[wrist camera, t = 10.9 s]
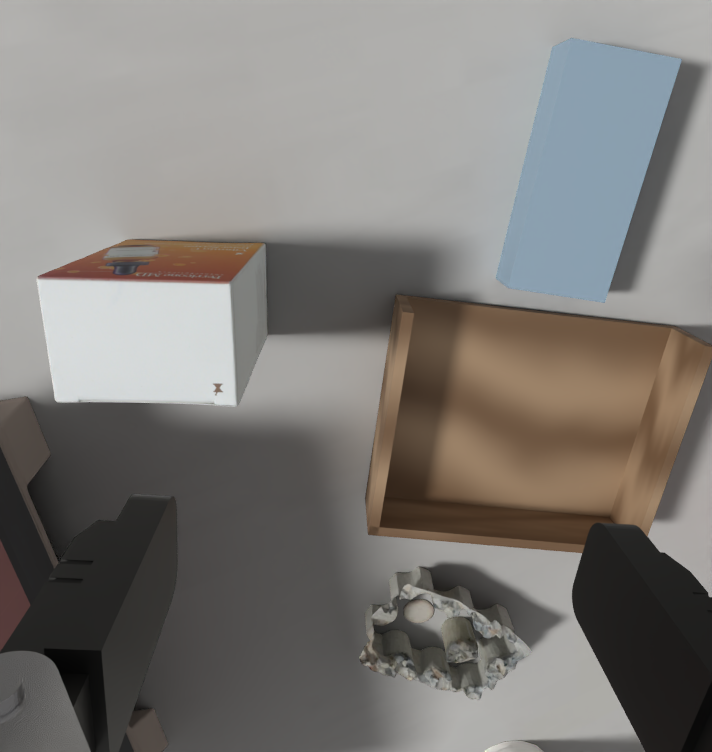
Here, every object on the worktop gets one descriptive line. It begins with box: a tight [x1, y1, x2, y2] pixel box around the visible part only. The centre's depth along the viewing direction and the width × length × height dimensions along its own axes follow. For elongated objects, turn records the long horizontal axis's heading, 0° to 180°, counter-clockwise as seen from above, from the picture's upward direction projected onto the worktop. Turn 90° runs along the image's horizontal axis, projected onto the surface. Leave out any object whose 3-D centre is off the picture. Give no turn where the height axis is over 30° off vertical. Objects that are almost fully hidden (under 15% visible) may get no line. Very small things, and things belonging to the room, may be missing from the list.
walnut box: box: [365, 294, 712, 553], centre depth 35 cm, size 14×17×4 cm
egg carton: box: [359, 567, 532, 700], centre depth 41 cm, size 11×8×4 cm
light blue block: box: [496, 38, 682, 303], centre depth 31 cm, size 12×6×3 cm, turn 171°
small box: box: [36, 240, 268, 407], centre depth 29 cm, size 8×6×10 cm
